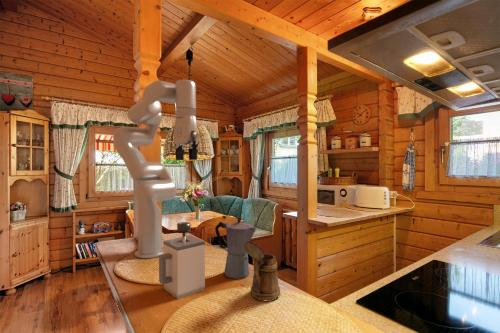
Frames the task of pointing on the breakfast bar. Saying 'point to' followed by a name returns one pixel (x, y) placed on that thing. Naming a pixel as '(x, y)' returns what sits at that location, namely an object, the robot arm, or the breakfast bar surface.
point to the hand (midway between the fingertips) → (186, 159)
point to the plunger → (183, 229)
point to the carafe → (182, 266)
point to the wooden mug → (263, 273)
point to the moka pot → (236, 247)
